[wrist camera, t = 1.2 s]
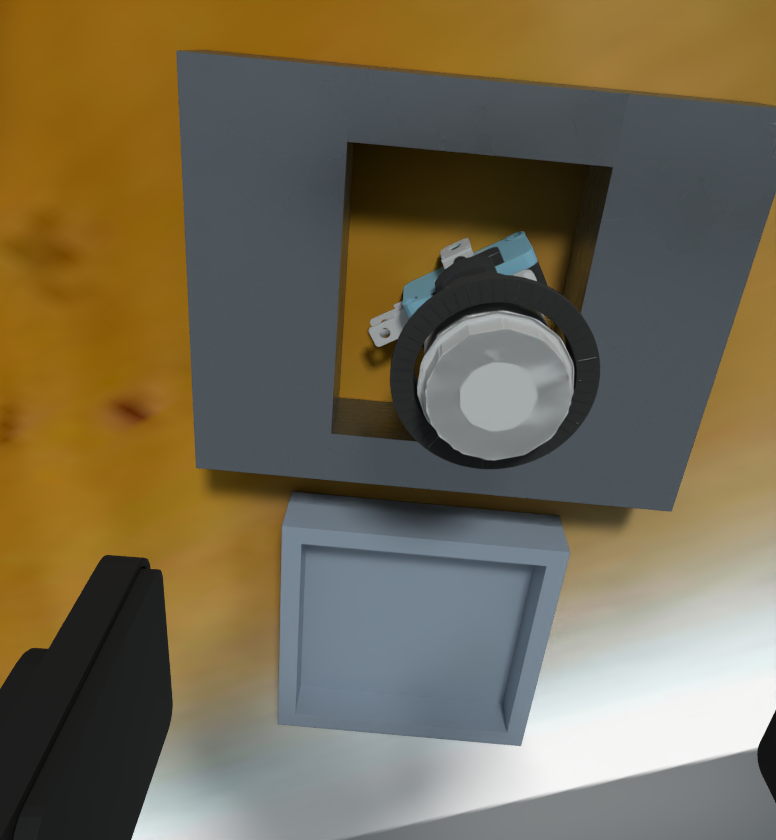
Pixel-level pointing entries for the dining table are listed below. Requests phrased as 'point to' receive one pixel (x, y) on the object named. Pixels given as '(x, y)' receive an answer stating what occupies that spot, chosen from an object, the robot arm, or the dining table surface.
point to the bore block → (584, 287)
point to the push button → (489, 358)
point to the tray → (415, 616)
